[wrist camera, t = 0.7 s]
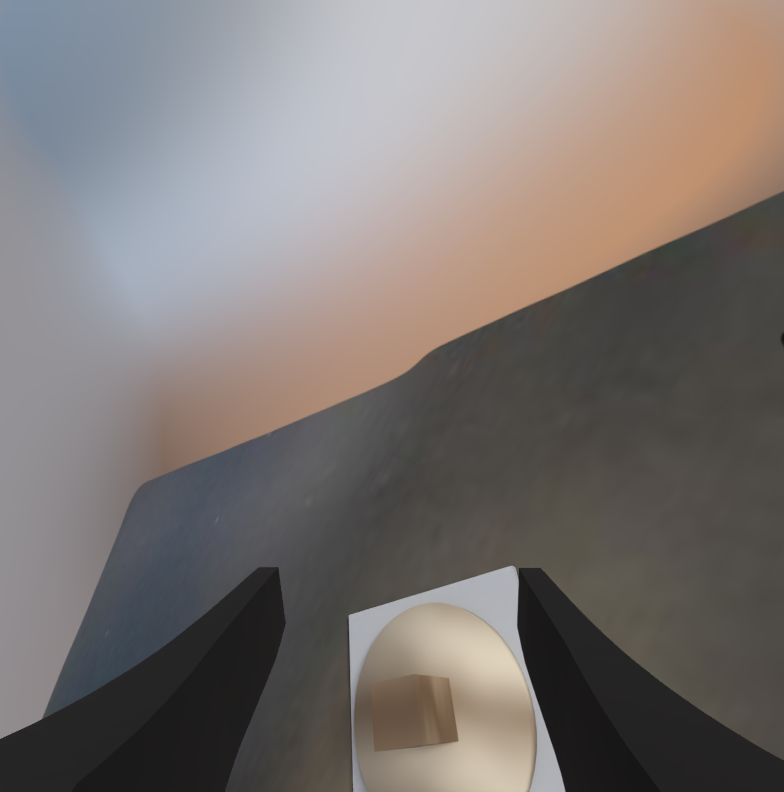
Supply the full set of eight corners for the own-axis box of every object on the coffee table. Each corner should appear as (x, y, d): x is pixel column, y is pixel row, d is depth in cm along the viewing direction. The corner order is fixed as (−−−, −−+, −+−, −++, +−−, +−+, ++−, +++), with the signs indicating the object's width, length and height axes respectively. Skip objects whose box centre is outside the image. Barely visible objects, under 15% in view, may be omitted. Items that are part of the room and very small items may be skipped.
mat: (605, 882, 19) (602, 885, 18) (360, 881, 24) (355, 883, 24) (514, 567, 28) (512, 565, 28) (352, 616, 33) (348, 615, 33)
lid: (571, 852, 19) (535, 880, 16) (368, 857, 24) (308, 880, 21) (502, 585, 27) (468, 567, 24) (359, 626, 32) (314, 616, 29)
